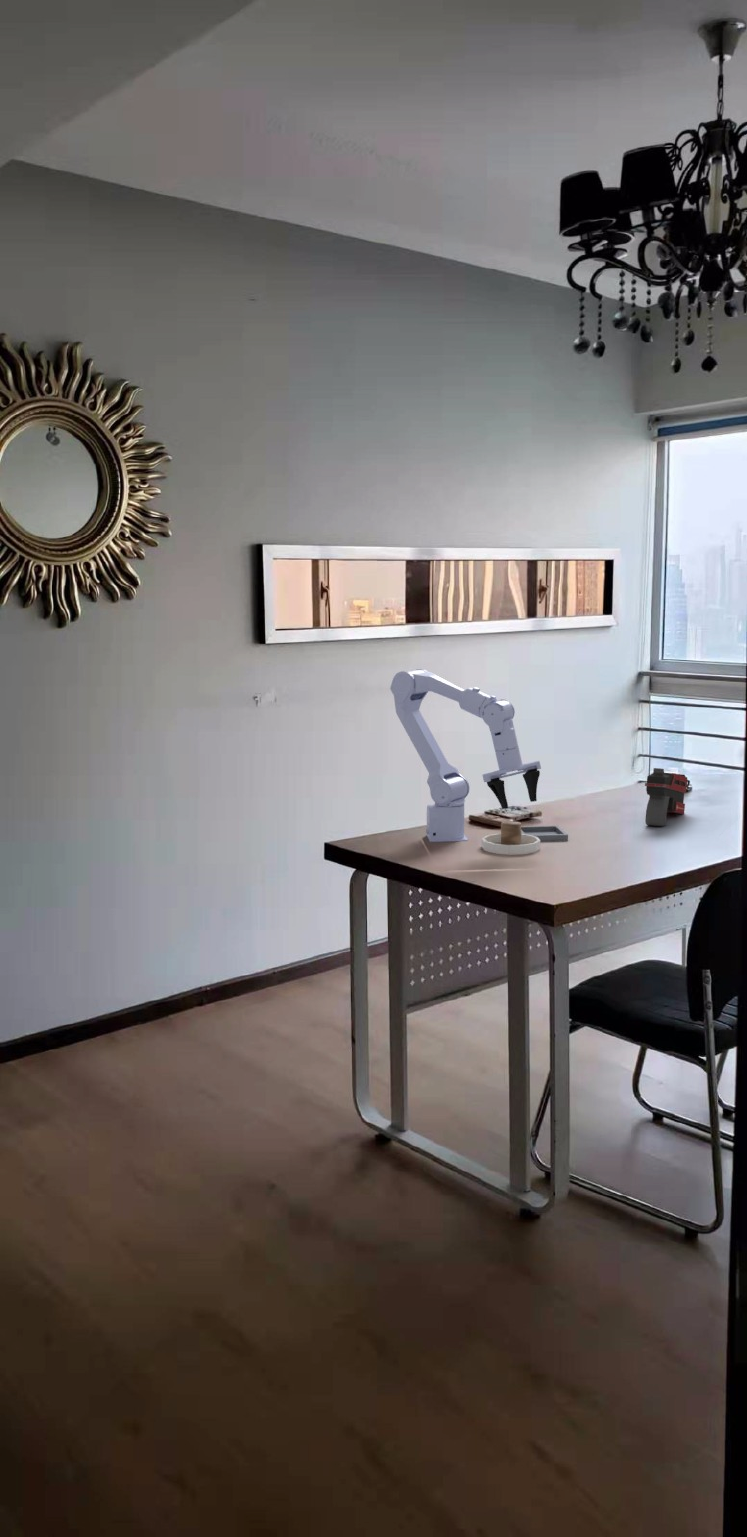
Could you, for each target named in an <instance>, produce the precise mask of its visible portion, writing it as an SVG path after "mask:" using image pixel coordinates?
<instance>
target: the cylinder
mask: <svg viewBox="0 0 747 1537" xmlns="http://www.w3.org/2000/svg"><path fill="white" fill-rule="evenodd" d="M521 826H522V823H521V822H520V821H512V820H511V821H510V820H508V821H502V822H501V824H500V833H501V844H503V845H521Z"/></svg>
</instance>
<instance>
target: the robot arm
mask: <svg viewBox="0 0 747 1537" xmlns="http://www.w3.org/2000/svg"><path fill="white" fill-rule="evenodd" d="M389 689H390V691H391V693H392V695H393V699H394V707H395V713H396V715H397V718H398V719H399V722H400V723H401V725H402V726H403V728H404V730H405V732H406V734H407V736H408V737H409V739H410V742H411V743H412V745H413V747H414V748H415V750H416V752H417V754H418V756H419V758H420V760H421V761H422V763H423V765H424V767H425V769H426V770H427V773H428V776H427V781H426V784H427V785H428V787H429V791H430V792H429V793H430V796H431V797H430V798H431V799H432V801H433V802H434V803H433V804H428V805H427V806H426V828H425V830H426V831H425V832H426V834H425V835H426V837H427V839H428V841H429V842H430V843H431V842H434V843H435V842H439V843H440V842H467V841H469V838H467V836H466V835H465V802H466V800H465V799H466V798H467V797H468V795H469V793H470V783H469V782H468V780H467V779H466V778H465V777H464V776H463V775H462V774H461V773H460V772H459V770H458V769H457V768H456V767H455V766H453V765H451V764H450V763H448V759H447V758H446V757H445V755H444V753H443V751H442V749H441V748H440V746H439V744H438V742H437V740H436V738H435V737H434V735H433V733H432V731H431V729H430V727H429V726H428V724H427V722H426V720H425V719H424V716H423V715H422V712H421V711H420V707H421V704H422V702H423V700H424V699H425V697H426V695H427V694H428V692H431V693H434V694H438V695H440V696H442V697H445V698H447V699H449V700H453V701H454V702H457V703H458V704H459V707H460V709H461V710H463V711H464V712H467V713H470V714H471V715H474V716H476V717H478V718H481V719H482V720H483V723H485V725H487V726H488V729H489V731H490V735H491V740H492V743H493V748H494V752H495V757H496V761H497V762H496V763H497V766H498V769H499V770H495V771H491V772H487V773H483V774H482V779H483V782H484V783H486V785H487V787H488V788H490V790H491V791H492V793H493V794H494V796H495V797H496V799H497V800H498V803H499V804H500V807H501V809H503V810H506V809H509V805H508V800H507V796H506V795H507V794H506V790H505V780H504V779H503V778H507V777H512V776H516V775H520V774H522V778H523V780H524V782H525V785H526V788H527V793H528V796H529V797H528V798H529V801H530V802H531V803H532V802H537V800H538V799H537V792H538V791H537V788H538V783H539V782H538V781H539V778H540V775H541V771H540V770H541V769H542V767H541V762H540V760H538V761H537V760H536V761H533V762H528V763H523V762H522V761H523V760H522V757H521V752H520V748H519V747H520V746H519V743H518V739H517V735H516V730H515V725H514V721H513V719H514V716H515V707H514V705H513V704H512V703H511V702H510V701H509V700H507V699H506V698H503V699H498V700H497V696H495V695H488V694H486V693H485V692H482V691H481V688H479V687H477V686H475V687H468V688H466V689H463V688H461V687H459V686H457V685H455V684H454V683H452V682H450V681H448V680H446V679H444V678H442V677H440V676H438V675H437V674H435V673H434V672H432V671H427V670H426V669H423V668H417V669H414V670H407V671H405V670H403V671H398V672H397V673H396V674H395V675H393V678H392V681H391V685H390V688H389ZM511 772H512V773H511ZM507 773H508V774H507Z"/></svg>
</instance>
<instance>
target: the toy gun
mask: <svg viewBox="0 0 747 1537" xmlns="http://www.w3.org/2000/svg"><path fill="white" fill-rule="evenodd" d="M687 785H688V777H687V776H686V775H685V774H683V773H682V774H681V773H676V772H675V773H671V772H665V769H664V768H656V767H655V768H654V767H653V772H652V773H651V774H649V775H647V777H646V782H645V783H644V787H646V788H645V790H646V794H647V795H648V796H649V798H648V802H647V804H646V808H645V809H646V810H645V818H644V819H645V820H644V821H645V822H644V823H645V825H647V826H655V827H663V826H666V823H667V816H668V815H667V814H668V813H669V814H681V815H684V814H685V810H686V809H685V808H686V803H684V800H685V794H687V787H688V786H687Z"/></svg>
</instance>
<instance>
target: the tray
mask: <svg viewBox="0 0 747 1537" xmlns="http://www.w3.org/2000/svg"><path fill="white" fill-rule="evenodd" d="M521 834H528V835H532V836H536V837H538V838H539V839H540V842H559V841H565V842H566V841H569V835H568V833H567V832H566V831H564V830H563V829H562V828H561V827H560V826H559V825H531V826H530V825H529V826H528V825H527V826H522V825H521Z"/></svg>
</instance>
